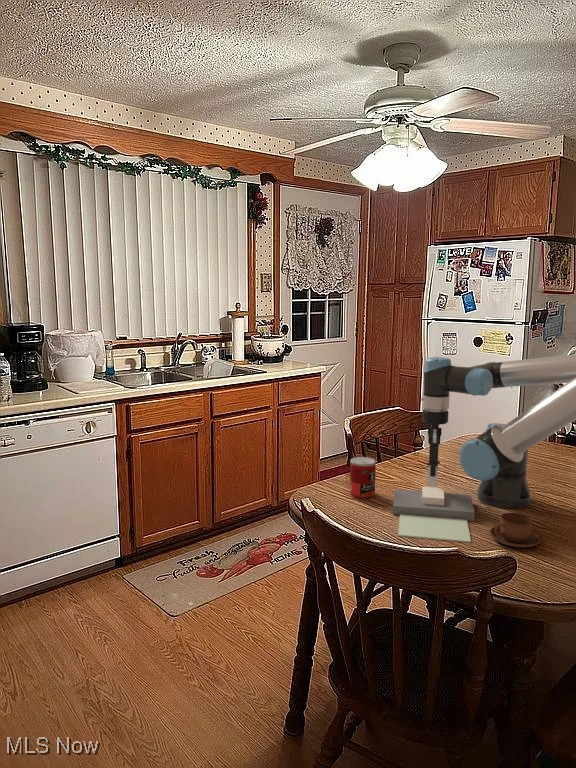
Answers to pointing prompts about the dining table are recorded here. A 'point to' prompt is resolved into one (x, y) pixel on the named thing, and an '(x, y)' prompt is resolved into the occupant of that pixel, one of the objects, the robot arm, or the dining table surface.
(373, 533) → the dining table surface
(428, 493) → the cream flat block
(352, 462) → the canned food
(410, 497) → the plate
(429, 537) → the sage mat
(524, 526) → the cup and saucer
